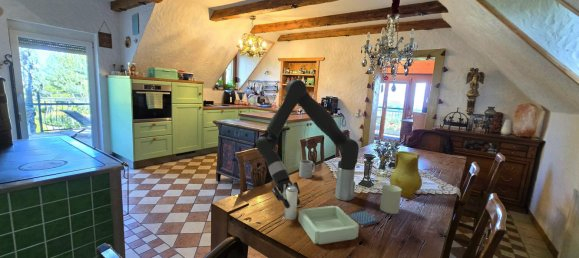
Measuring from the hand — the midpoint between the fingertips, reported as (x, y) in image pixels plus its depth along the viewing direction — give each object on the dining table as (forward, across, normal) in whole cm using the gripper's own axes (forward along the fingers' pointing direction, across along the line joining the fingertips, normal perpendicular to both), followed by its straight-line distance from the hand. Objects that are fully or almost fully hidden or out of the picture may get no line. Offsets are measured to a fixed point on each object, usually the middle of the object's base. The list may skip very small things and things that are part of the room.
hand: (293, 205), depth 115 cm
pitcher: (+15, +75, -6) cm, 77 cm away
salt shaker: (+3, 0, +6) cm, 6 cm away
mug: (-23, +46, +32) cm, 61 cm away
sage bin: (+15, +6, -6) cm, 17 cm away
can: (+19, +47, -10) cm, 52 cm away
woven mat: (+18, +26, -9) cm, 33 cm away
